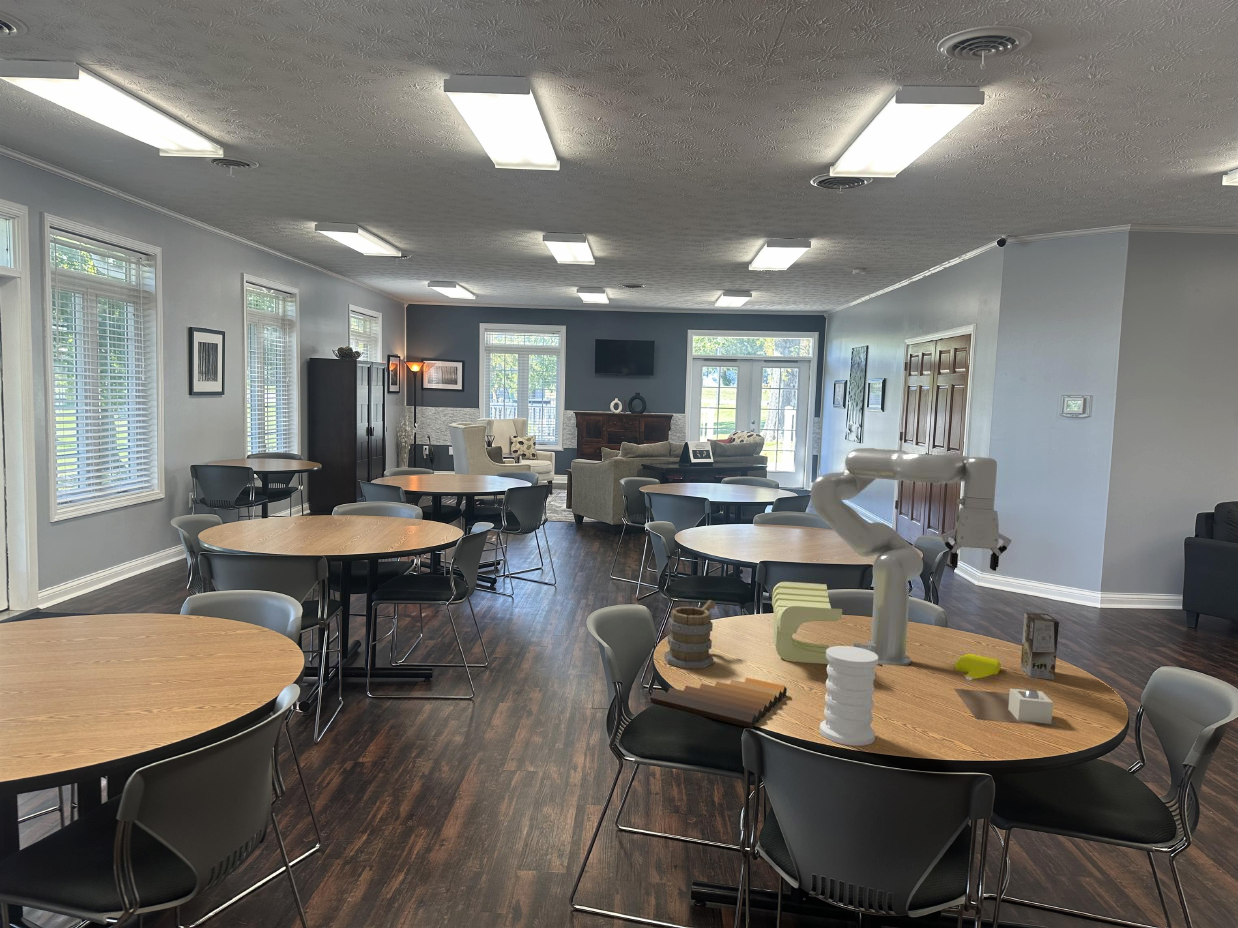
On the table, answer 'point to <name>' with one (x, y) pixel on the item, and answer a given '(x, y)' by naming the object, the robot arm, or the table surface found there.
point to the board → (992, 706)
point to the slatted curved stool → (800, 619)
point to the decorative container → (849, 696)
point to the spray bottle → (977, 666)
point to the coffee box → (1039, 645)
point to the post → (1031, 694)
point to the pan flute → (725, 700)
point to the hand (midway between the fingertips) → (973, 568)
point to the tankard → (690, 637)
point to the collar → (1030, 707)
